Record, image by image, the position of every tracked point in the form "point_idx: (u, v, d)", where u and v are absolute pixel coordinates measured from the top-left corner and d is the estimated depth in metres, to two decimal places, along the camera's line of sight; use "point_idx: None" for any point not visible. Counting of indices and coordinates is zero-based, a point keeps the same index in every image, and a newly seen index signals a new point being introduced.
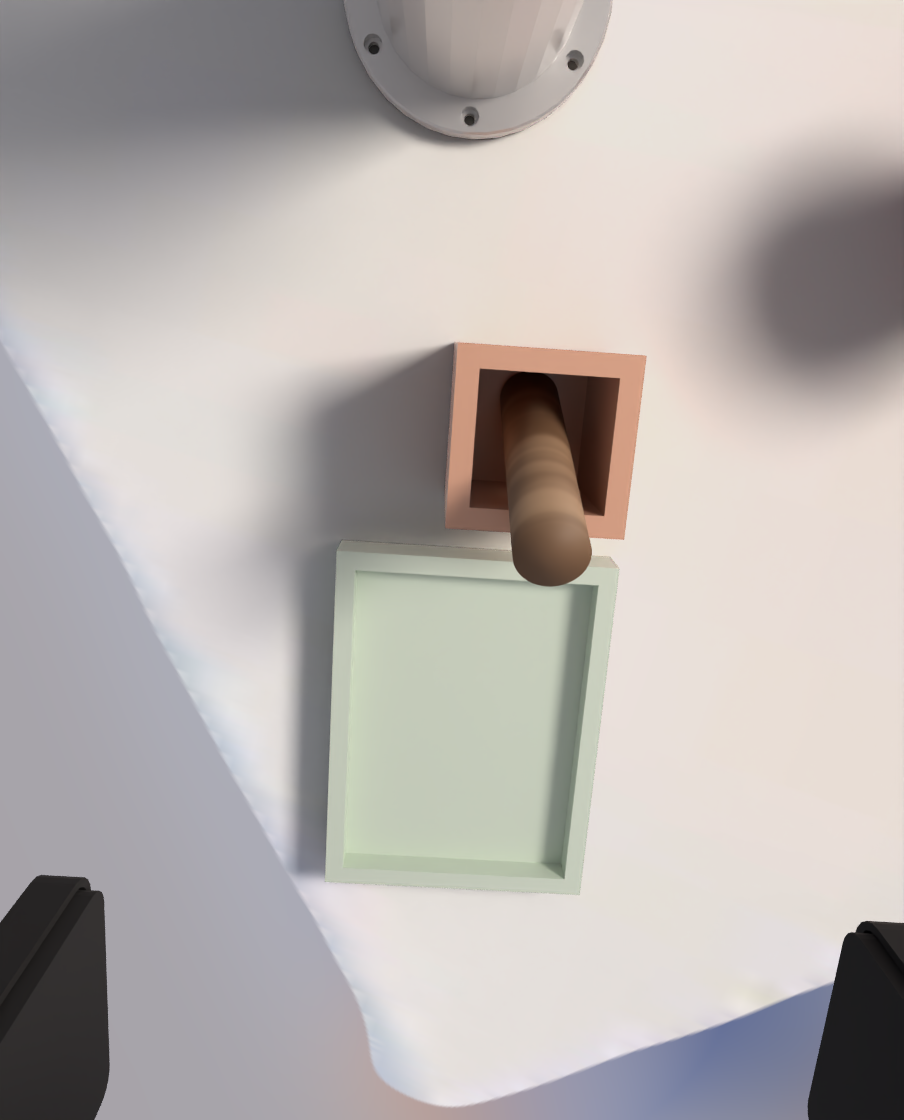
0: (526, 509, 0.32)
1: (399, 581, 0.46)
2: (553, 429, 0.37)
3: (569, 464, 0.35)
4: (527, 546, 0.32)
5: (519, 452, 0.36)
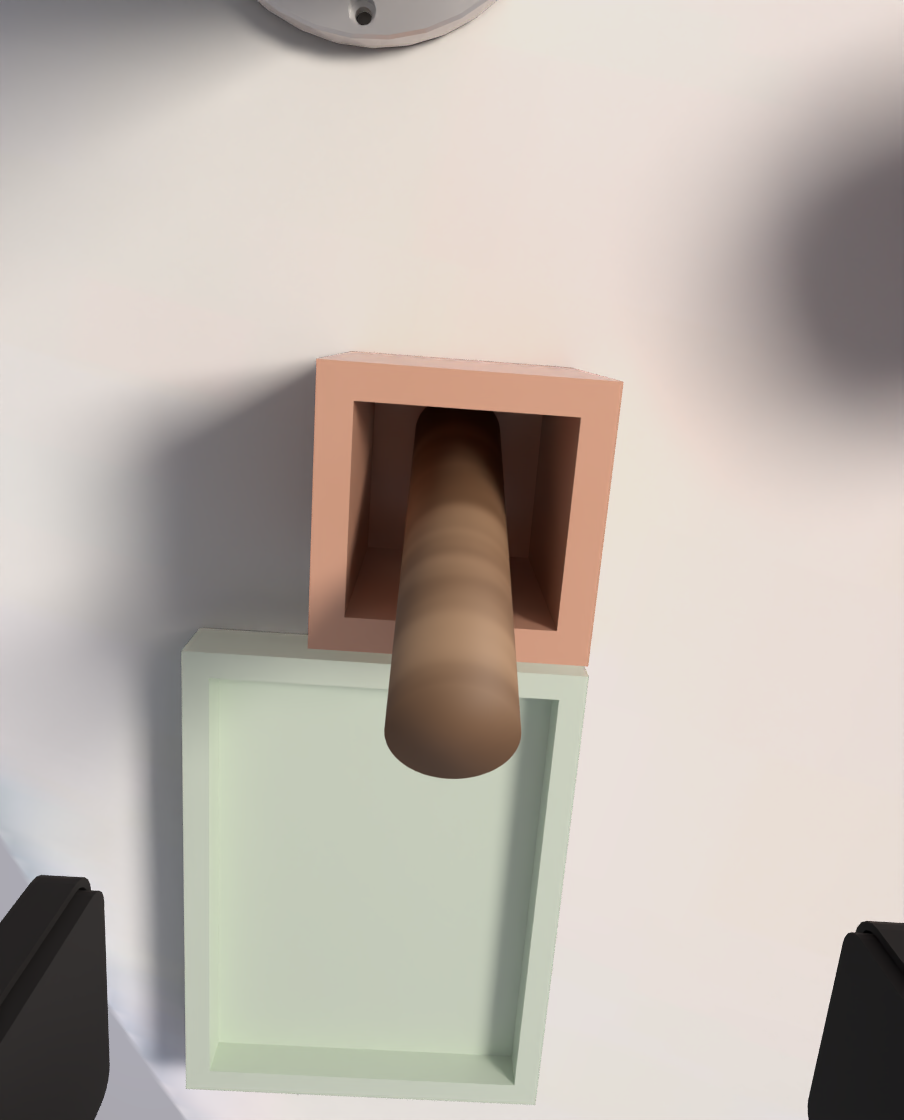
0: (411, 652, 0.19)
1: (280, 687, 0.33)
2: (478, 493, 0.24)
3: (497, 557, 0.22)
4: (408, 721, 0.18)
5: (419, 535, 0.23)
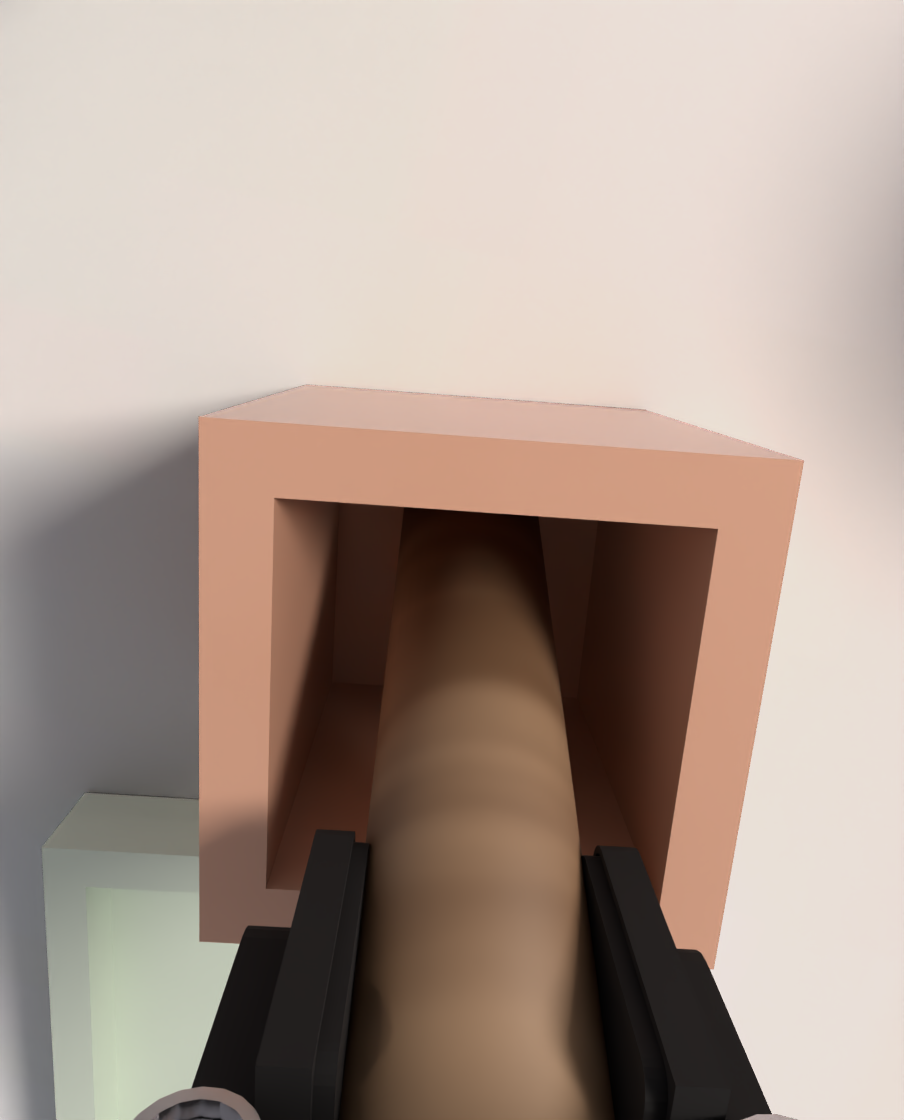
0: None
1: None
2: (512, 654, 0.13)
3: (557, 805, 0.11)
4: None
5: (403, 751, 0.12)
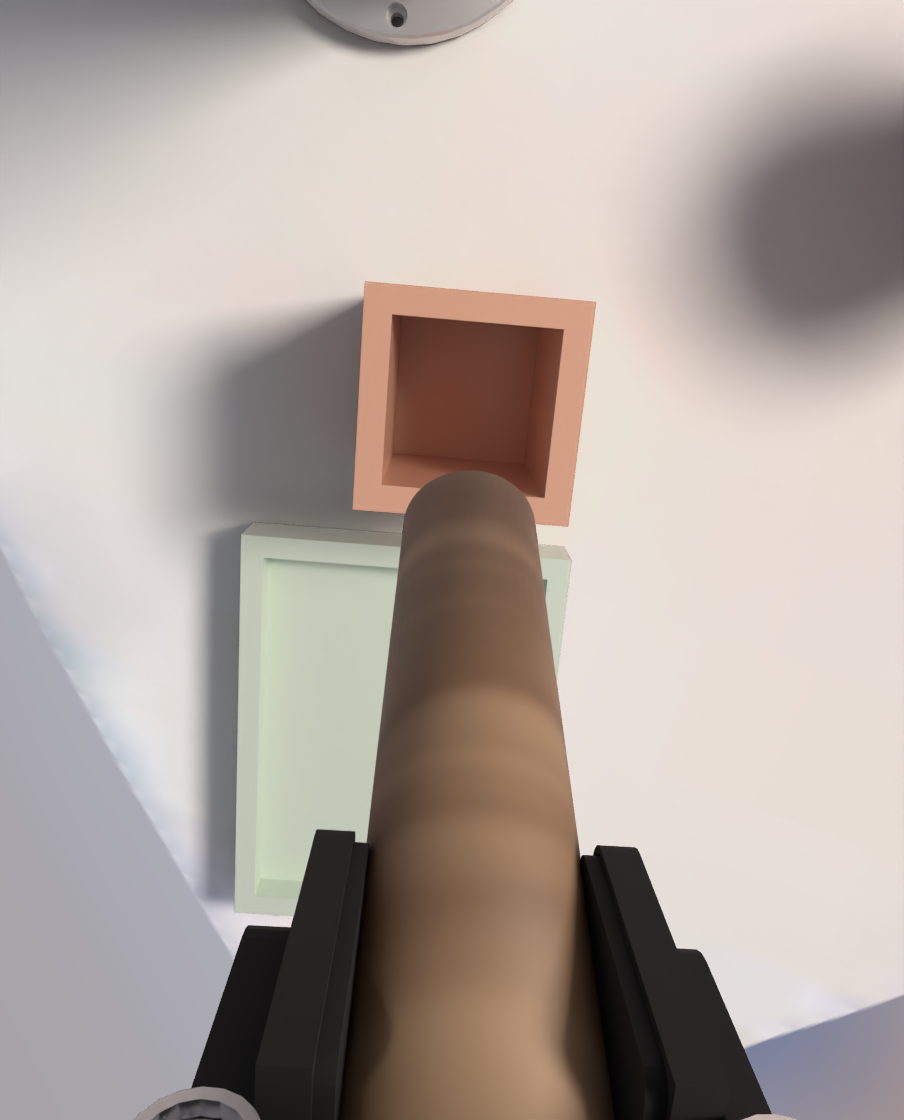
0: None
1: (318, 571, 0.40)
2: (511, 662, 0.13)
3: (556, 808, 0.11)
4: None
5: (403, 757, 0.12)
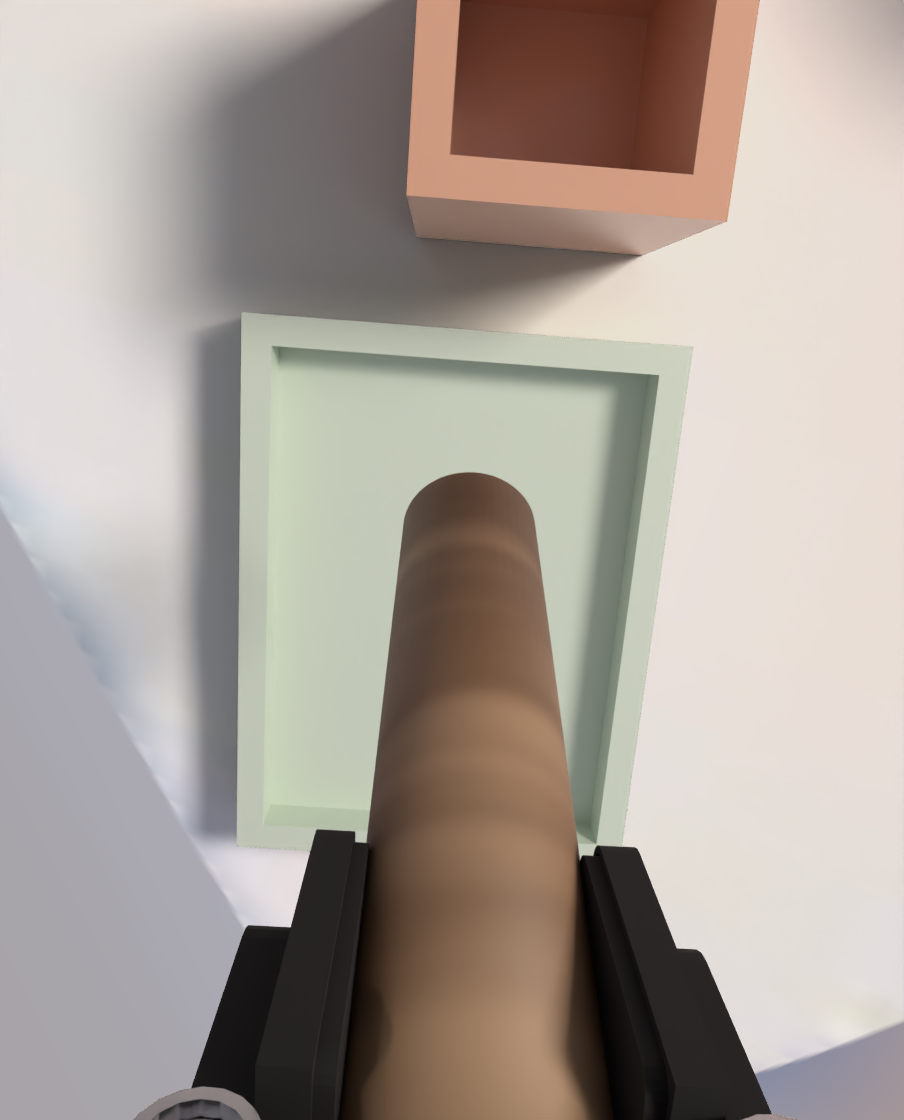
0: None
1: (346, 376, 0.30)
2: (510, 665, 0.13)
3: (556, 812, 0.11)
4: None
5: (402, 760, 0.12)
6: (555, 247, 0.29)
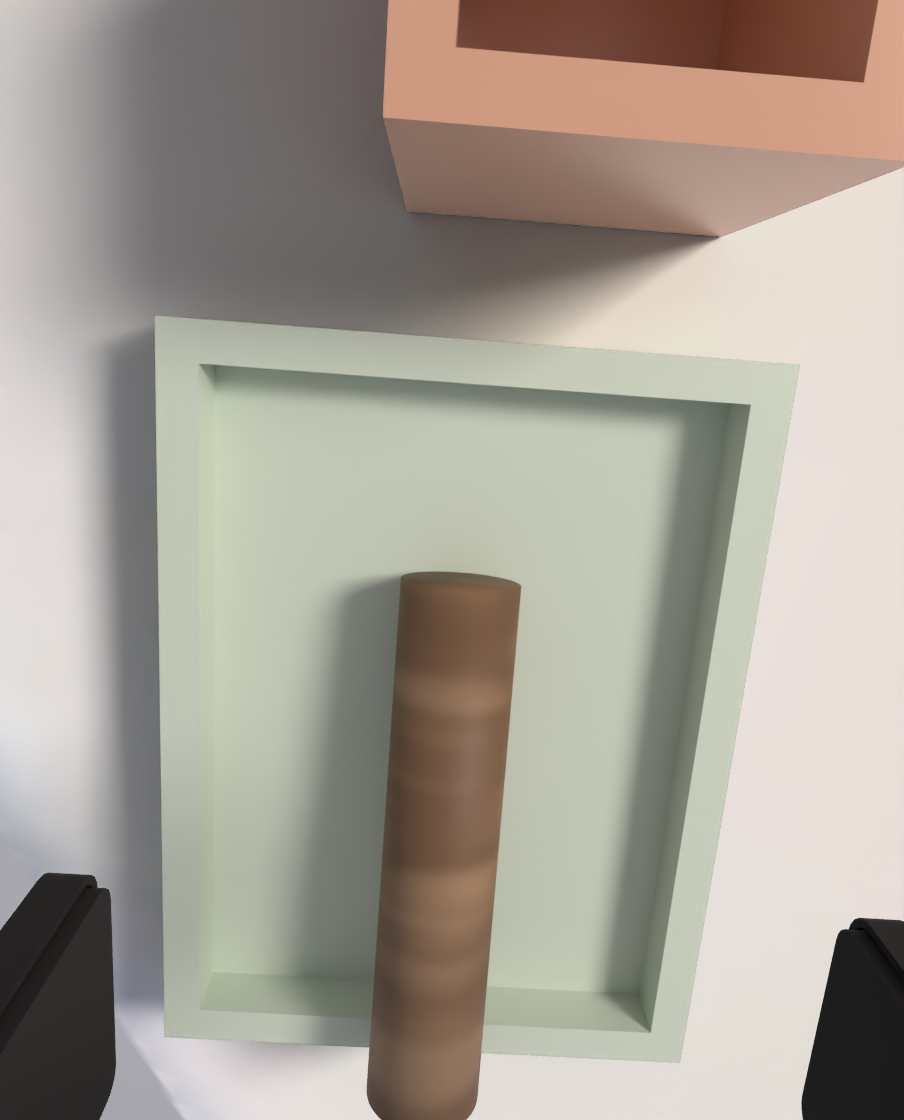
0: (385, 1071, 0.21)
1: (309, 405, 0.21)
2: (464, 844, 0.20)
3: (477, 935, 0.21)
4: None
5: (395, 901, 0.21)
6: (600, 225, 0.21)
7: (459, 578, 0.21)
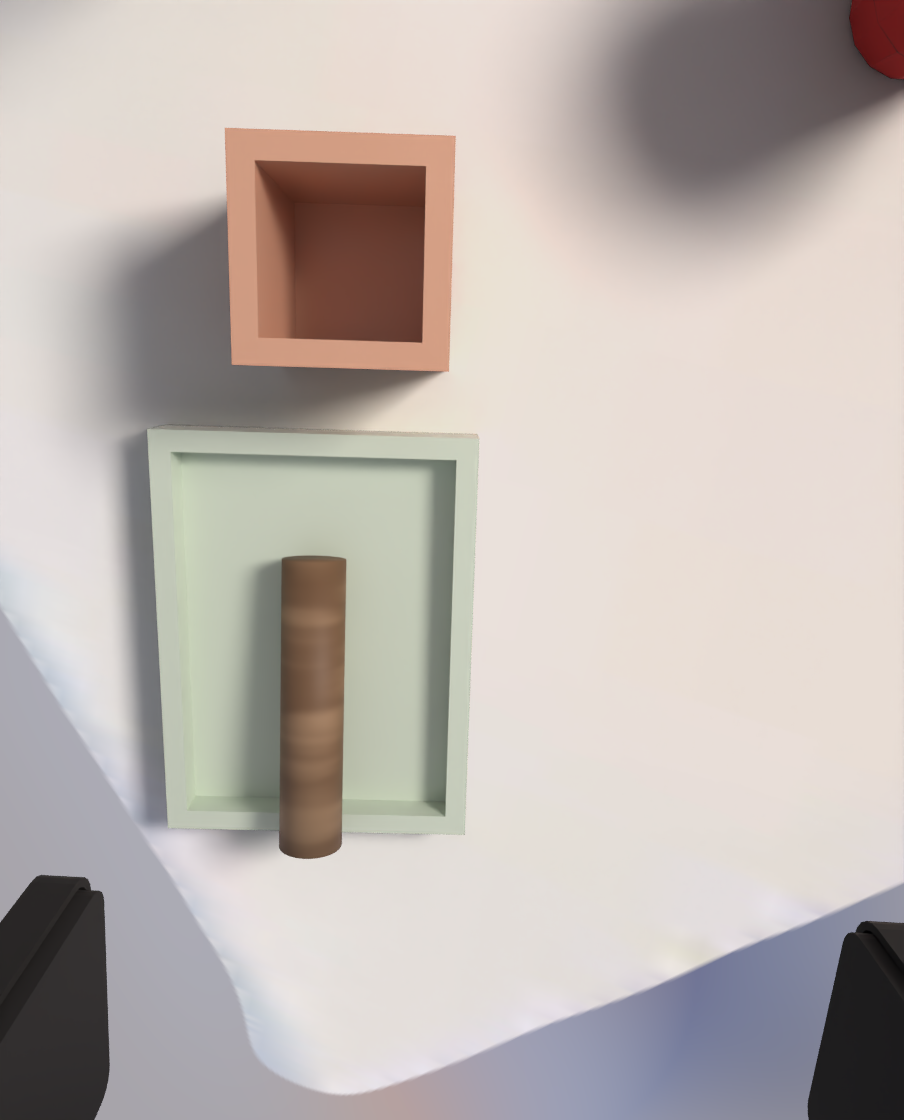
0: (285, 826, 0.40)
1: (231, 468, 0.40)
2: (318, 696, 0.39)
3: (330, 748, 0.39)
4: None
5: (285, 731, 0.39)
6: None
7: (315, 558, 0.40)
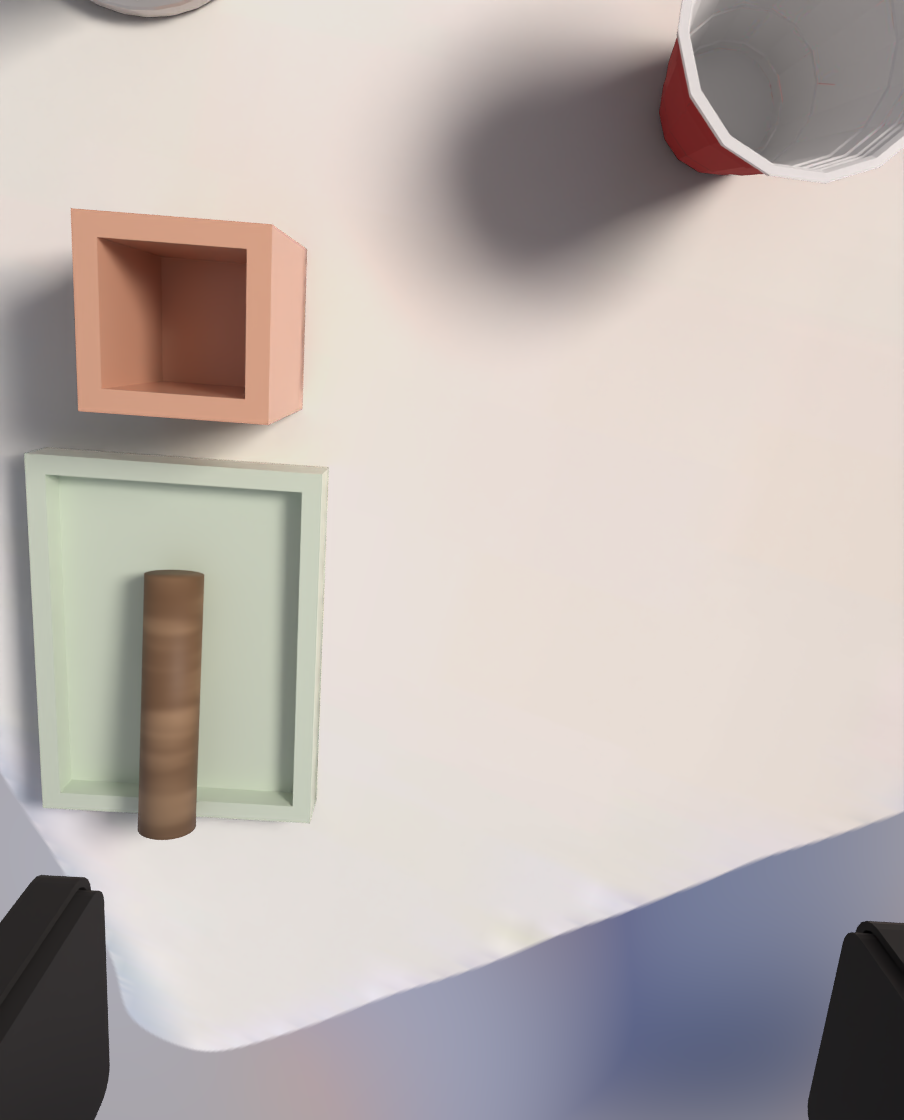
0: (141, 810, 0.45)
1: (104, 489, 0.44)
2: (172, 697, 0.43)
3: (183, 743, 0.44)
4: None
5: (143, 726, 0.44)
6: None
7: (176, 573, 0.44)
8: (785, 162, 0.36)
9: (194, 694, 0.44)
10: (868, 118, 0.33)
